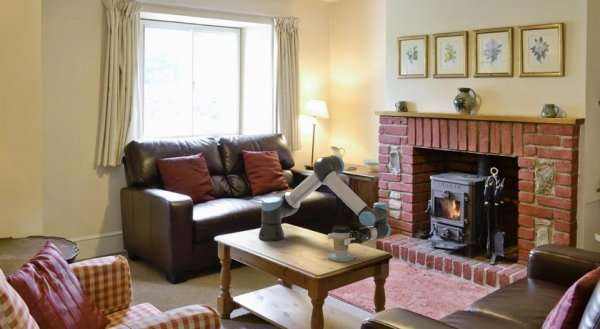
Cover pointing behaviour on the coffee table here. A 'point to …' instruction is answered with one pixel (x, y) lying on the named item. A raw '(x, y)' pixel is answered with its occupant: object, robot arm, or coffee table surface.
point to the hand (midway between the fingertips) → (336, 239)
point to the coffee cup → (340, 240)
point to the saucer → (340, 259)
